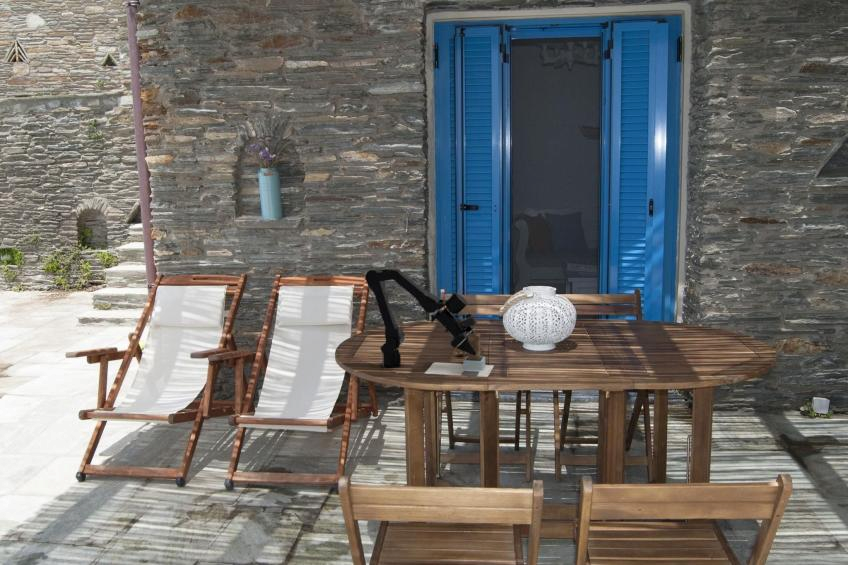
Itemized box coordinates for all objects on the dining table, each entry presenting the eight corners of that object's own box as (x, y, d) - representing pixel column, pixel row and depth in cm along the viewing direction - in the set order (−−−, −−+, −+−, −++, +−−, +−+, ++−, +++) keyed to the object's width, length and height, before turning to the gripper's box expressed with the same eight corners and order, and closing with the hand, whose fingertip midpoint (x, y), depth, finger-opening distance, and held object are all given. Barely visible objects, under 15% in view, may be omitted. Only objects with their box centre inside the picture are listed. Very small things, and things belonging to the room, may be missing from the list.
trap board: (424, 375, 295) (424, 373, 295) (434, 364, 310) (434, 362, 310) (487, 379, 289) (487, 376, 289) (494, 367, 305) (494, 365, 305)
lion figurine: (463, 361, 315) (463, 339, 313) (451, 360, 317) (451, 338, 316) (478, 353, 327) (478, 332, 326) (467, 352, 330) (467, 331, 328)
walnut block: (468, 368, 300) (468, 335, 298) (470, 365, 304) (470, 333, 302) (478, 369, 300) (478, 336, 297) (480, 366, 303) (480, 333, 301)
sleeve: (463, 369, 299) (463, 360, 299) (467, 364, 306) (466, 355, 306) (482, 370, 298) (482, 361, 297) (485, 365, 304) (485, 356, 304)
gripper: (459, 313, 290) (488, 343, 289) (468, 303, 308) (496, 332, 307) (438, 333, 293) (467, 363, 293) (449, 322, 311) (476, 350, 310)
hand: (477, 351), depth 301 cm, fingers open, 9 cm apart
